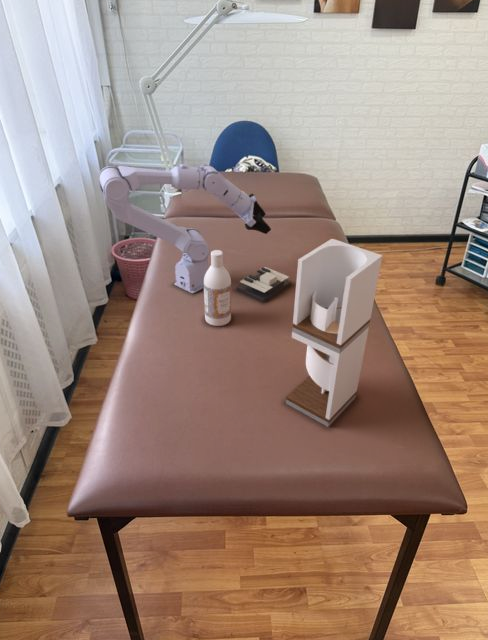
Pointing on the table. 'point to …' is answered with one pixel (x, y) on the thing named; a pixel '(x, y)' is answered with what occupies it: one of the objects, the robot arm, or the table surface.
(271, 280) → the square cream block
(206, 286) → the bath foam
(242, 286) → the toy piano
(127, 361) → the table surface
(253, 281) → the piano keys trim
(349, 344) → the white tower
